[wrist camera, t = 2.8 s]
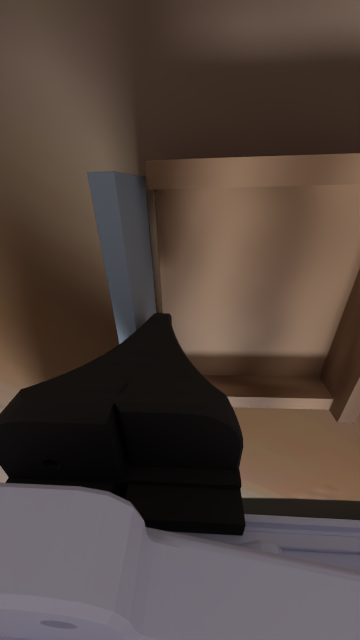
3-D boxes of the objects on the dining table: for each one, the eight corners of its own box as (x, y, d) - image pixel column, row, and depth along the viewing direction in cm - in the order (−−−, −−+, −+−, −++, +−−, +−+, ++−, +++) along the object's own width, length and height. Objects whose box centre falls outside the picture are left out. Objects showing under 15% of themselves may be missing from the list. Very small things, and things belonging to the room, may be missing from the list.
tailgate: (152, 376, 18) (137, 441, 13) (130, 178, 11) (87, 171, 7) (162, 376, 18) (151, 442, 13) (146, 177, 11) (114, 171, 7)
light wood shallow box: (169, 366, 19) (163, 417, 15) (158, 167, 12) (139, 157, 8) (316, 368, 19) (353, 423, 14) (391, 160, 12) (505, 144, 8)
